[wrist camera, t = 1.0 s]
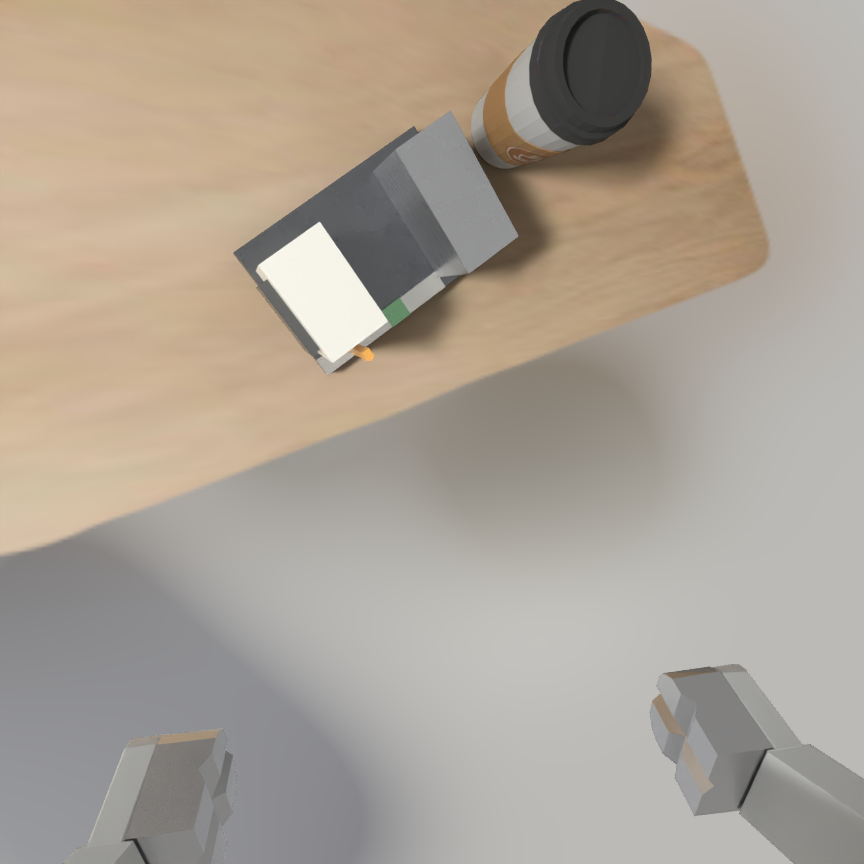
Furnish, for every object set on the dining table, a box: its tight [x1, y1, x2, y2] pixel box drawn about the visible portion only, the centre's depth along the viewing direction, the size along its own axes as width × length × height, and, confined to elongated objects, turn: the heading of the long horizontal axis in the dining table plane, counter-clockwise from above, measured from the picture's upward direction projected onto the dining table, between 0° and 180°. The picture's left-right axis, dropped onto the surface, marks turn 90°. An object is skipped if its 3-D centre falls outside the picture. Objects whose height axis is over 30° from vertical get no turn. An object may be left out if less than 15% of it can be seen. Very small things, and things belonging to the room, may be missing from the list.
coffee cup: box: [471, 0, 652, 169], centre depth 41 cm, size 8×8×15 cm
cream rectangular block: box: [256, 222, 388, 363], centre depth 41 cm, size 6×10×8 cm, turn 35°
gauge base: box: [234, 111, 518, 375], centre depth 43 cm, size 18×12×8 cm
